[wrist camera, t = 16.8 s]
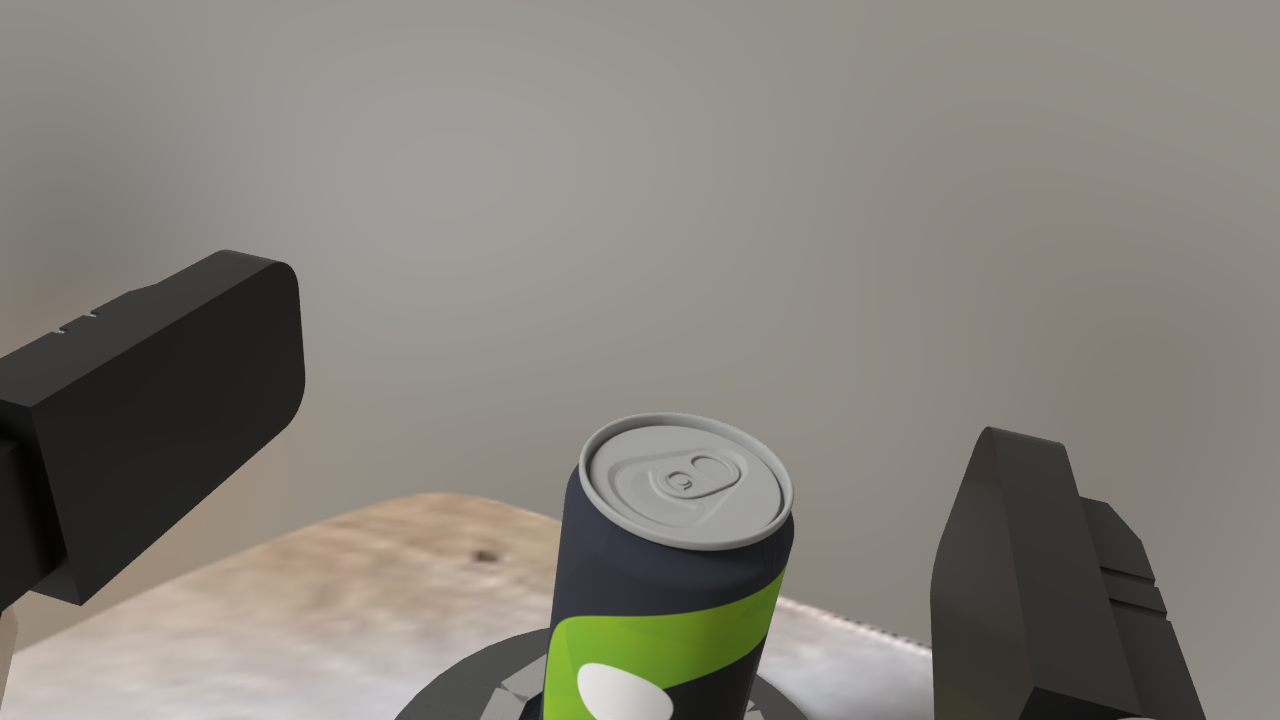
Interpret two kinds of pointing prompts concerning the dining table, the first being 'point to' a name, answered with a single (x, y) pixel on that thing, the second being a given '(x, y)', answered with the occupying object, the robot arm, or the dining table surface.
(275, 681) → the dining table surface
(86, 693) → the dining table surface
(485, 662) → the rosette
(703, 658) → the beverage can
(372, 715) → the dining table surface
